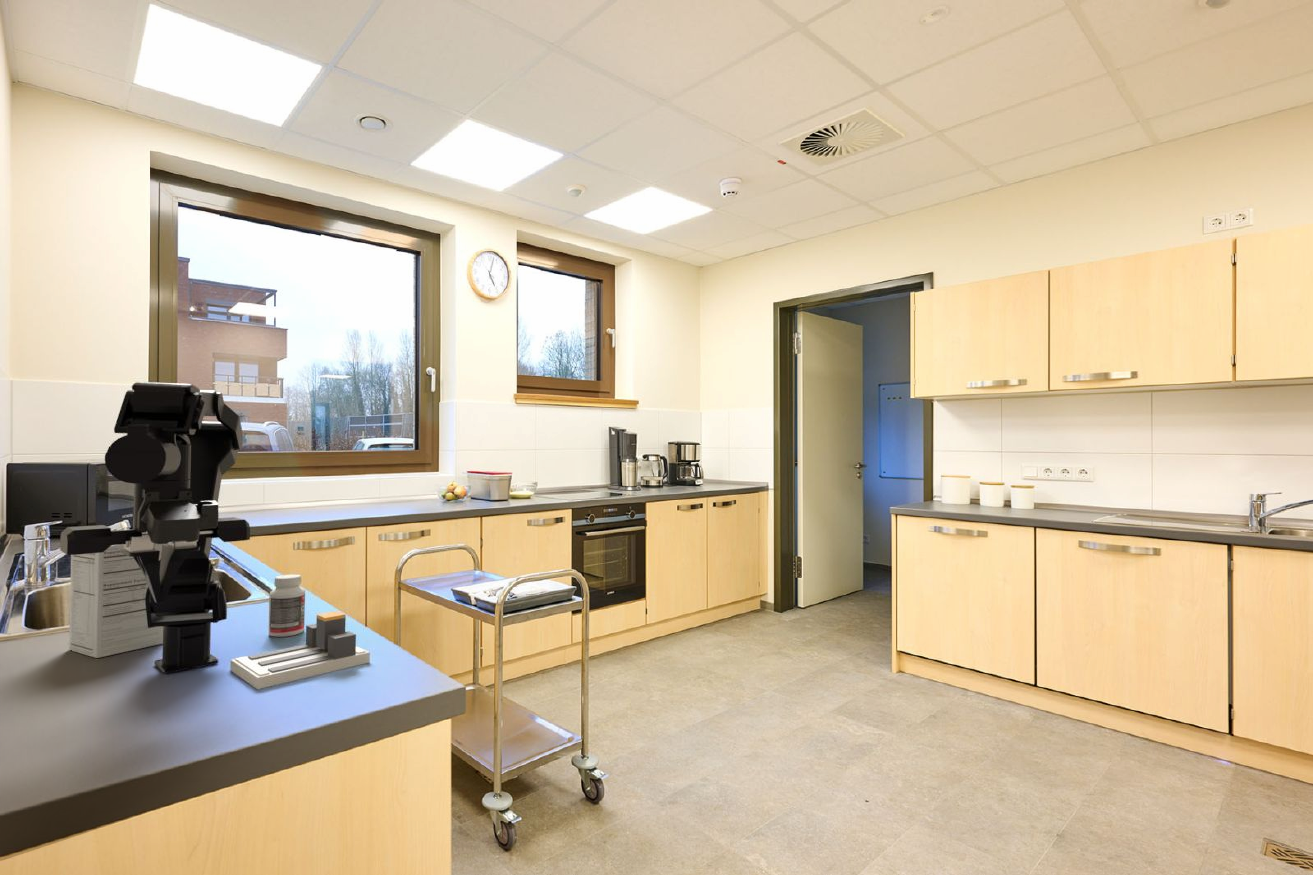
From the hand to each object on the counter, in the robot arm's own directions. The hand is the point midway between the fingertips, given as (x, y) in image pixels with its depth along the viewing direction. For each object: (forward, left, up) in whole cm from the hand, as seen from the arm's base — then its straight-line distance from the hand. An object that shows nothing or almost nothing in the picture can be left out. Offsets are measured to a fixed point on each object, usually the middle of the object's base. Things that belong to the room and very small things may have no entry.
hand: (159, 602), depth 83 cm
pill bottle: (-19, +22, -12) cm, 32 cm away
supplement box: (-30, +1, -12) cm, 32 cm away
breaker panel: (+1, +17, -12) cm, 21 cm away
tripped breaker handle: (+1, +21, -10) cm, 23 cm away
